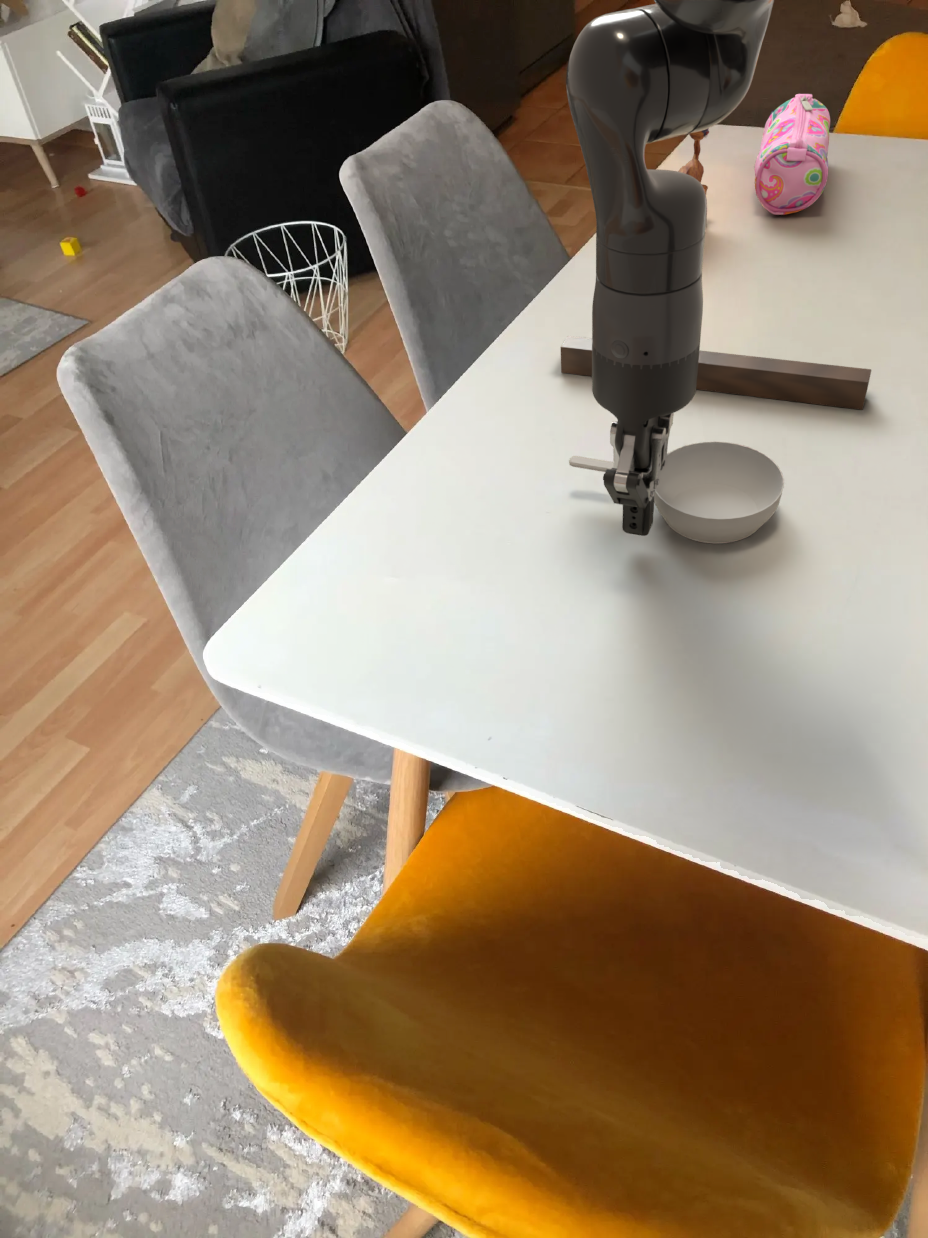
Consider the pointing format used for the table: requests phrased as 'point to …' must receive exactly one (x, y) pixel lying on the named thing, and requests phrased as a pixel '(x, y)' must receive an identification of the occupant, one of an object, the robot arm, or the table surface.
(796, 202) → the pencil case
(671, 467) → the saucepan
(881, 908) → the table surface
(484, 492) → the table surface
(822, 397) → the walnut rail
